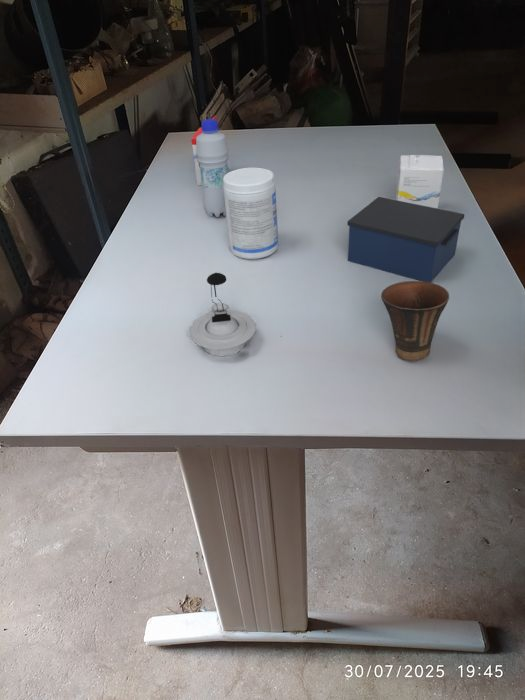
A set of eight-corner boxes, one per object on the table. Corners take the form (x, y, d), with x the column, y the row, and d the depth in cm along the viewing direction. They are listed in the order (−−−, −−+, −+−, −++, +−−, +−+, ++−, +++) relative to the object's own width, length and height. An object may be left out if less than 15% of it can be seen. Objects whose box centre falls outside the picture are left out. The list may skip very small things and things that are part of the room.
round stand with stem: (248, 252, 79) (179, 259, 78) (255, 287, 71) (179, 295, 71) (253, 320, 87) (191, 327, 86) (260, 359, 79) (192, 367, 78)
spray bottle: (204, 173, 141) (197, 114, 132) (222, 173, 140) (217, 114, 131) (196, 186, 134) (188, 124, 125) (216, 186, 133) (209, 124, 124)
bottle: (220, 204, 124) (210, 113, 112) (239, 212, 120) (232, 118, 108) (197, 214, 121) (185, 120, 108) (217, 222, 117) (206, 126, 104)
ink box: (436, 226, 110) (445, 169, 103) (393, 224, 112) (399, 168, 104) (434, 208, 117) (442, 154, 109) (394, 207, 118) (399, 153, 111)
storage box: (459, 254, 100) (466, 214, 95) (433, 285, 92) (440, 243, 87) (373, 234, 109) (376, 196, 104) (343, 260, 101) (345, 220, 96)
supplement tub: (287, 252, 104) (285, 178, 95) (243, 266, 101) (236, 190, 92) (263, 234, 111) (259, 162, 102) (221, 246, 108) (213, 173, 99)
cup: (397, 324, 84) (404, 267, 78) (450, 346, 79) (462, 288, 73) (363, 350, 79) (368, 292, 73) (417, 376, 74) (427, 316, 68)
